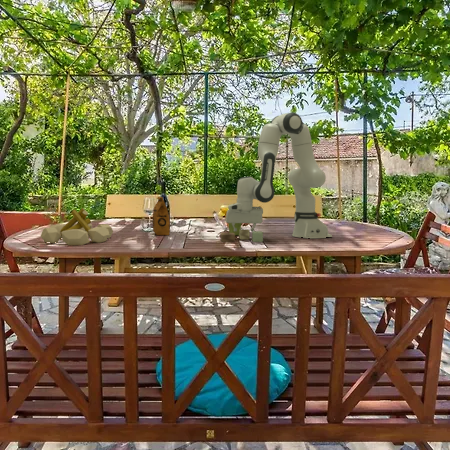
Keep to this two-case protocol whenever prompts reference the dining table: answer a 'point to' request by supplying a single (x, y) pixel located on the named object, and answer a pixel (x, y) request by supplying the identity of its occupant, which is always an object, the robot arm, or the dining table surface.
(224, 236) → the brown square block
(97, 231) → the campfire
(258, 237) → the green cube
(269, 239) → the dining table surface
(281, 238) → the dining table surface
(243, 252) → the dining table surface
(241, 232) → the birch cube
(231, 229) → the plant pot
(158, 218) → the coffee package
